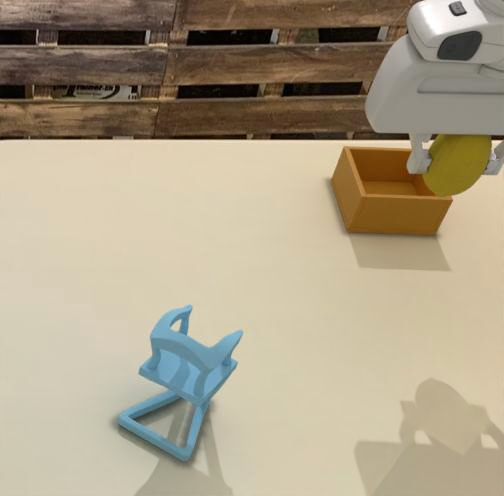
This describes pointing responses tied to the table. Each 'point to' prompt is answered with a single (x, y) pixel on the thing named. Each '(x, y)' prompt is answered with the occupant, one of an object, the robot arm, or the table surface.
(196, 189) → the table surface
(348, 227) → the ochre bin
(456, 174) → the lemon
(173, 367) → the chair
